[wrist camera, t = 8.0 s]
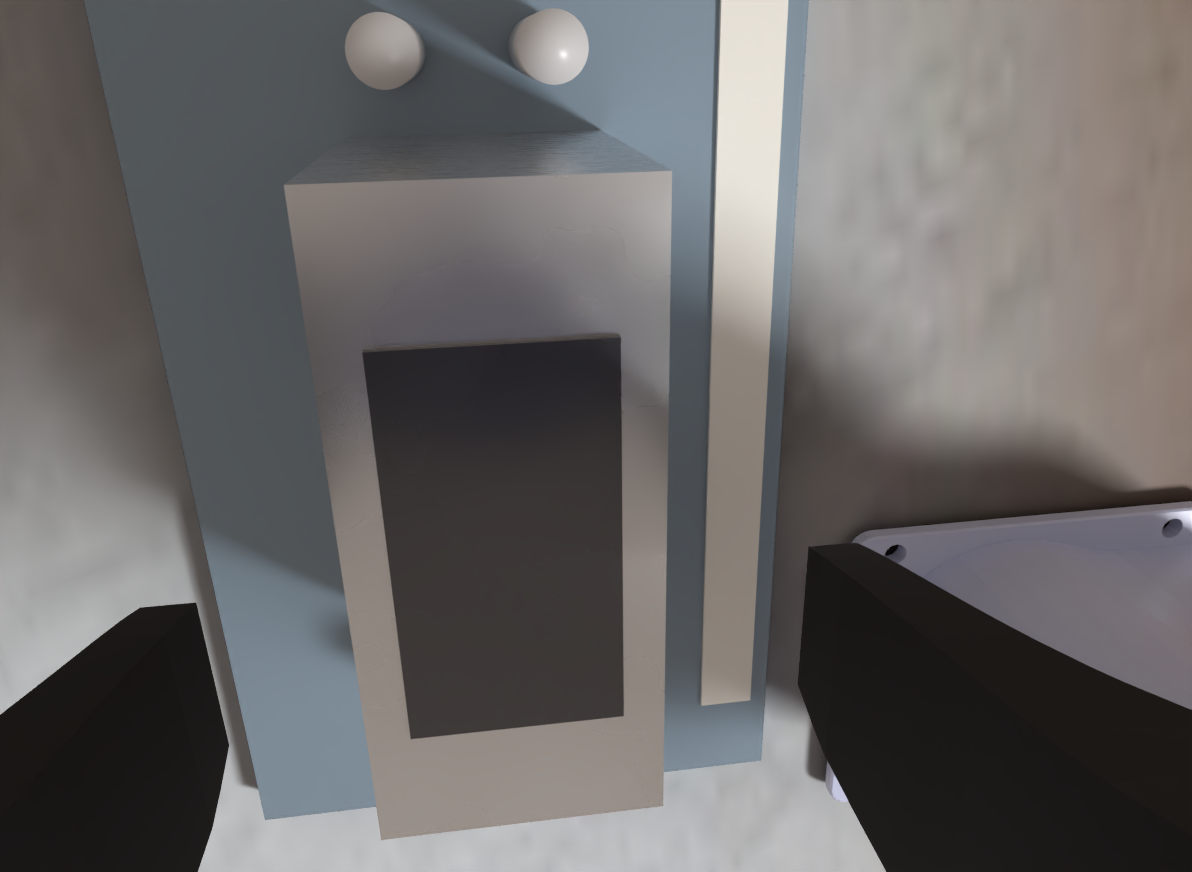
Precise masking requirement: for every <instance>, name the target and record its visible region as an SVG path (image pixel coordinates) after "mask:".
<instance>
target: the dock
mask: <svg viewBox="0 0 1192 872" xmlns="http://www.w3.org/2000/svg"><path fill="white" fill-rule="evenodd" d="M808 3H809V0H84V5H85V9H86V14H87V18H88V23H89V27H90V32H91V36H92V41H93V45H94V50H95V54H96V59H97V63H98V68H99V72H100V77H101V81H102V86H103V91H104V95H105V100H106V104H107V109H108V113H109V118H110V122H111V127H112V131H113V136H114V140H115V145H116V149H117V154H118V158H119V163H120V167H121V172H122V176H123V181H124V185H125V190H126V194H127V199H128V203H129V208H130V212H131V217H132V221H133V226H134V230H135V235H136V239H137V244H138V248H139V253H140V258H141V262H142V267H143V271H144V276H145V280H146V285H147V289H148V294H149V298H150V303H151V307H152V312H153V316H154V321H155V325H156V330H157V334H158V339H159V343H160V348H161V352H162V357H163V361H164V366H165V370H166V375H167V379H168V384H169V388H170V393H171V397H172V402H173V406H174V411H175V415H176V420H177V425H178V429H179V434H180V438H181V443H182V447H183V452H184V456H185V461H186V465H187V470H188V474H189V479H190V483H191V488H192V492H193V497H194V501H195V506H196V510H197V515H198V519H199V524H200V528H201V533H202V537H203V542H204V546H205V551H206V555H207V560H208V564H209V569H210V573H211V578H212V582H213V587H214V592H215V596H216V601H217V605H218V610H219V614H220V619H221V623H222V628H223V632H224V637H225V641H226V646H227V650H228V655H229V659H230V664H231V668H232V673H233V677H234V682H235V686H236V691H237V695H238V700H239V704H240V709H241V713H242V718H243V722H244V727H245V731H246V736H247V740H248V745H249V749H250V754H251V759H252V763H253V768H254V772H255V777H256V781H257V786H258V790H259V795H260V799H261V804H262V808H263V813H264V817H265V820H269V819H277V818H285V817H294V816H302V815H310V814H319V813H327V812H335V811H344V810H352V809H360V808H369V807H376V800H375V793H374V787H373V780H372V773H371V767H370V760H369V753H368V746H367V740H366V733H365V726H364V720H363V713H362V706H361V700H360V693H359V686H358V679H357V673H356V666H355V659H354V653H353V646H352V639H351V633H350V626H349V619H348V613H347V606H346V599H345V592H344V586H343V579H342V572H341V566H340V559H339V552H338V546H337V539H336V532H335V525H334V519H333V512H332V505H331V499H330V492H329V485H328V479H327V472H326V465H325V459H324V452H323V445H322V438H321V432H320V425H319V418H318V412H317V405H316V398H315V392H314V385H313V378H312V371H311V365H310V358H309V351H308V345H307V338H306V331H305V325H304V318H303V311H302V305H301V298H300V291H299V284H298V278H297V271H296V264H295V258H294V251H293V244H292V238H291V231H290V224H289V217H288V211H287V204H286V197H285V191H284V184H286V183H287V182H288V181H289V180H291V179H292V178H293V177H295V176H296V175H297V174H298V173H300V172H301V171H302V170H304V169H305V168H306V167H307V166H309V165H310V164H311V163H313V162H314V161H315V160H316V159H318V158H319V157H320V156H321V155H323V154H324V153H325V152H327V151H328V150H329V149H330V148H332V147H333V146H334V145H336V144H337V143H338V142H339V141H341V140H342V139H343V138H347V137H379V136H412V135H444V134H476V133H509V132H541V131H574V130H602V131H604V132H606V133H608V134H609V135H611V136H613V137H615V138H616V139H618V140H620V141H622V142H623V143H625V144H627V145H628V146H630V147H632V148H634V149H635V150H637V151H639V152H641V153H642V154H644V155H646V156H647V157H649V158H651V159H653V160H654V161H656V162H658V163H660V164H661V165H663V166H665V167H666V168H668V169H670V170H672V214H671V284H670V354H669V423H668V493H667V563H666V632H665V702H664V772H668V771H677V770H685V769H693V768H702V767H710V766H718V765H727V764H735V763H743V762H752V761H760V760H761V755H762V739H763V723H764V707H765V691H766V675H767V659H768V643H769V627H770V611H771V595H772V579H773V563H774V547H775V531H776V515H777V499H778V483H779V467H780V451H781V435H782V419H783V403H784V387H785V371H786V355H787V339H788V323H789V307H790V291H791V275H792V259H793V243H794V227H795V211H796V195H797V179H798V163H799V147H800V131H801V115H802V99H803V83H804V67H805V51H806V35H807V19H808Z"/></svg>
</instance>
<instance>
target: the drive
mask: <svg viewBox="0 0 1192 872" xmlns="http://www.w3.org/2000/svg"><path fill="white" fill-rule="evenodd" d="M284 191H285V197H286V204H287V211H288V217H289V224H290V231H291V238H292V244H293V251H294V258H295V264H296V271H297V278H298V284H299V291H300V298H301V305H302V311H303V318H304V325H305V331H306V338H307V345H308V351H309V358H310V365H311V371H312V378H313V385H314V392H315V398H316V405H317V412H318V418H319V425H320V432H321V438H322V445H323V452H324V459H325V465H326V472H327V479H328V485H329V492H330V499H331V505H332V512H333V519H334V525H335V532H336V539H337V546H338V552H339V559H340V566H341V572H342V579H343V586H344V592H345V599H346V606H347V613H348V619H349V626H350V633H351V639H352V646H353V653H354V659H355V666H356V673H357V679H358V686H359V693H360V700H361V706H362V713H363V720H364V726H365V733H366V740H367V746H368V753H369V760H370V767H371V773H372V780H373V787H374V793H375V800H376V807H377V813H378V820H379V827H380V833H381V840H384V839H393V838H401V837H409V836H417V835H426V834H434V833H442V832H451V831H459V830H467V829H475V828H484V827H492V826H500V825H509V824H517V823H525V822H533V821H542V820H550V819H558V818H567V817H575V816H583V815H591V814H600V813H608V812H616V811H625V810H633V809H641V808H649V807H658V806H663V772H664V702H665V632H666V563H667V493H668V423H669V354H670V284H671V214H672V170H670V169H668V168H666V167H665V166H663V165H661V164H660V163H658V162H656V161H654V160H653V159H651V158H649V157H647V156H646V155H644V154H642V153H641V152H639V151H637V150H635V149H634V148H632V147H630V146H628V145H627V144H625V143H623V142H622V141H620V140H618V139H616V138H615V137H613V136H611V135H609V134H608V133H606V132H604V131H602V130H574V131H541V132H509V133H476V134H444V135H412V136H379V137H347V138H343V139H342V140H341V141H339V142H338V143H337V144H336V145H334V146H333V147H332V148H330V149H329V150H328V151H327V152H325V153H324V154H323V155H321V156H320V157H319V158H318V159H316V160H315V161H314V162H313V163H311V164H310V165H309V166H307V167H306V168H305V169H304V170H302V171H301V172H300V173H298V174H297V175H296V176H295V177H293V178H292V179H291V180H289V181H288V182H287V183H286V184H284Z"/></svg>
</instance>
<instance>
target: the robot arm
mask: <svg viewBox="0 0 1192 872" xmlns="http://www.w3.org/2000/svg"><path fill="white" fill-rule="evenodd" d="M1169 520H1170V522H1169V524H1168V525H1167V526H1166V527H1165V528H1164V529H1163V527H1164V525H1165V524H1166V523H1167V522H1168V521H1169ZM894 545H899V546H898V549H897V551H895V552H894V553H893V554H891V555H888V556H884V555H885V553H886V550H888V549H889V548H890V547H891V546H894ZM798 685H799V688H800V691H801V694H802V697H803V699H804V702H805V705H806V708H807V711H808V713H809V716H810V719H811V722H812V724H813V727H814V730H815V732H816V735H817V737H818V740H819V742H820V745H821V747H822V750H823V753H824V755H825V757H826V759H827V770H826V780H825V781H826V787H827V789H828V791H829V793H830V795H831V796H832V797H833V798H834V799H835V800H838V801H849V803H850V805H851V807H852V809H853V811H854V813H855V814H856V816H857V818H858V820H859V822H860V824H861V826H862V827H863V829H864V831H865V833H866V835H867V837H868V838H869V840H870V842H871V844H872V846H873V848H874V850H875V851H876V853H877V855H878V857H879V859H880V861H881V863H882V864H883V866H884V868H885V870H886V872H1192V501H1187V502H1176V503H1165V504H1154V505H1143V506H1132V507H1121V508H1110V509H1099V510H1088V511H1077V512H1066V513H1055V514H1044V515H1033V516H1022V517H1011V518H1000V519H989V520H978V521H967V522H956V523H945V524H934V525H923V526H913V527H902V528H891V529H880V530H870V531H866V532H863V533H861V534H860V535H858V536H857V537H855V539H854V540H853V541H852V542H851V543H847V544H836V545H825V546H814V547H809V548H808V561H807V574H806V586H805V599H804V612H803V624H802V637H801V650H800V663H799V675H798ZM228 748H229V743H228V739H227V734H226V730H225V726H224V721H223V717H222V713H221V708H220V704H219V700H218V696H217V691H216V687H215V683H214V678H213V674H212V670H211V665H210V661H209V657H208V652H207V648H206V644H205V639H204V635H203V631H202V626H201V622H200V618H199V613H198V609H197V605H196V603H187V604H176V605H165V606H154V607H143V608H139V609H137V610H136V611H134V612H133V613H131V614H130V615H128V616H127V617H126V618H124V619H123V620H121V621H120V622H119V623H117V624H116V625H115V626H113V627H112V628H111V629H109V630H108V631H107V632H105V633H104V634H103V635H102V636H100V637H99V638H98V639H96V640H95V641H94V642H93V643H91V644H90V645H89V646H87V647H86V648H85V649H84V650H82V651H81V652H80V653H79V654H77V655H76V656H75V657H74V658H72V659H71V660H70V661H69V662H67V663H66V664H65V665H63V666H62V667H61V668H60V669H58V670H57V671H56V672H55V673H53V674H52V675H51V676H49V677H48V678H47V679H46V680H44V681H43V682H42V683H41V684H39V685H38V686H37V687H35V688H34V689H33V690H32V691H30V692H29V693H28V694H26V695H25V696H24V697H23V698H21V699H20V700H19V701H17V702H16V703H15V704H14V705H12V706H11V707H10V708H8V709H7V710H6V711H5V712H3V713H2V714H1V715H0V872H198V869H199V866H200V863H201V860H202V857H203V854H204V851H205V848H206V845H207V842H208V839H209V836H210V833H211V830H212V827H213V822H214V818H215V813H216V808H217V804H218V799H219V795H220V790H221V785H222V780H223V774H224V769H225V764H226V759H227V753H228Z"/></svg>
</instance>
